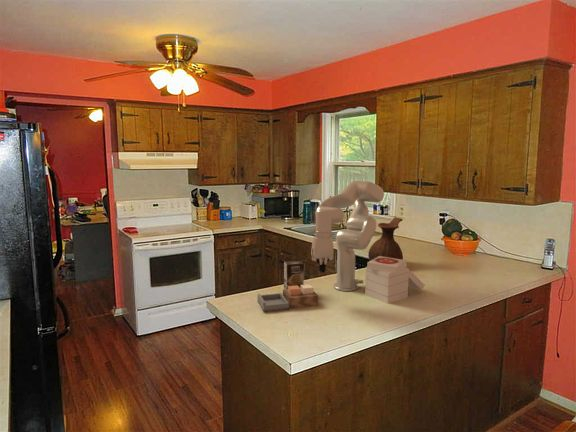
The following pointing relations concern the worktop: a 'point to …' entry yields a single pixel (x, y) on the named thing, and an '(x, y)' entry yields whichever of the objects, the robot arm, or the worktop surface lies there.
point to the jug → (387, 242)
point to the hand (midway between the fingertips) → (322, 271)
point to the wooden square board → (301, 299)
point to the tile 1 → (294, 290)
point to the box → (272, 302)
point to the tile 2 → (307, 289)
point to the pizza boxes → (389, 279)
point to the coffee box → (293, 273)
